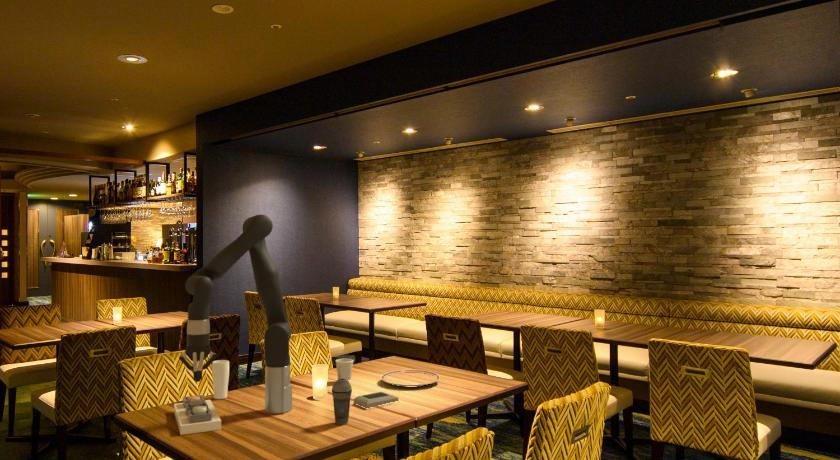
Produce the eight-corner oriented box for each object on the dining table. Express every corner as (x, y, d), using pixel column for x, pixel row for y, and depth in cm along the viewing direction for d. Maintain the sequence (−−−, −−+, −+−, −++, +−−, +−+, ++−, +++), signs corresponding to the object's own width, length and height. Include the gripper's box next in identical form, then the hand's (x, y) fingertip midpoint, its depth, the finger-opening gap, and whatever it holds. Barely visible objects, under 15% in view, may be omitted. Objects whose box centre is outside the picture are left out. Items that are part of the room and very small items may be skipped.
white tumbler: (223, 400, 238) (223, 363, 238) (208, 399, 239) (208, 362, 240) (232, 396, 245) (232, 360, 245) (217, 395, 246) (217, 359, 246)
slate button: (189, 406, 213) (189, 399, 213) (202, 405, 215) (202, 398, 215) (190, 410, 209) (190, 403, 209) (204, 408, 211) (204, 401, 211)
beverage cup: (343, 427, 204) (343, 369, 204) (327, 423, 208) (327, 367, 208) (356, 422, 210) (356, 365, 211) (340, 418, 214) (340, 363, 214)
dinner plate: (441, 390, 255) (441, 383, 256) (378, 390, 256) (378, 382, 256) (439, 376, 283) (439, 369, 283) (383, 376, 283) (383, 369, 283)
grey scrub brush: (398, 394, 235) (366, 401, 226) (398, 404, 235) (366, 410, 226) (384, 390, 243) (353, 395, 233) (384, 399, 243) (353, 405, 233)
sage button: (191, 414, 204) (192, 406, 204) (205, 412, 206) (205, 405, 206) (193, 417, 200) (193, 410, 200) (207, 415, 202) (207, 408, 202)
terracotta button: (186, 403, 222) (186, 397, 222) (199, 402, 224) (199, 395, 224) (187, 406, 218) (187, 399, 218) (200, 405, 220) (201, 398, 220)
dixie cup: (346, 379, 276) (346, 357, 276) (357, 382, 270) (357, 360, 270) (331, 381, 271) (331, 360, 271) (342, 385, 264) (342, 362, 265)
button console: (174, 411, 222) (174, 397, 223) (210, 407, 228) (210, 393, 228) (180, 435, 196) (180, 418, 196) (221, 429, 201) (221, 413, 201)
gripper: (217, 329, 214) (216, 377, 213) (177, 331, 208) (177, 380, 208) (219, 332, 207) (218, 382, 206) (178, 334, 201) (177, 385, 201)
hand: (197, 381), depth 207 cm, fingers closed
